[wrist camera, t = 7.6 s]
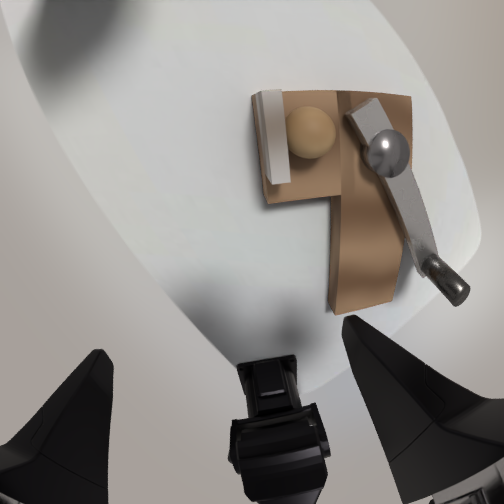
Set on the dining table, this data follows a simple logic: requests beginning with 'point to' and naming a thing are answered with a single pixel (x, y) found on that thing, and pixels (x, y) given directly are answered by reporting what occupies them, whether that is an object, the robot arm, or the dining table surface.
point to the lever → (403, 194)
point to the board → (335, 184)
